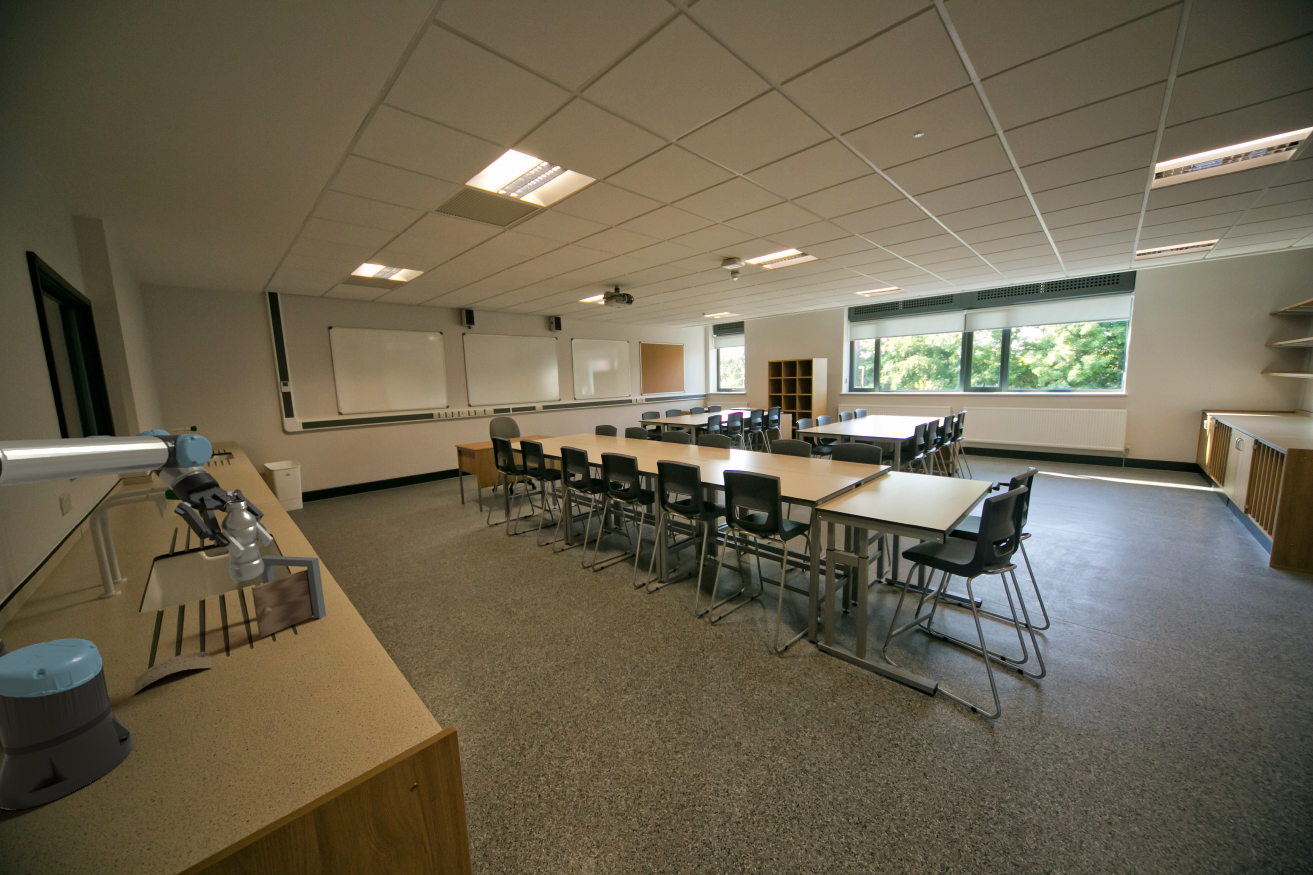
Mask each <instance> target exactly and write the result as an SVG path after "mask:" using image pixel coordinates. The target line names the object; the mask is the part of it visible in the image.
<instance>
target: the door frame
mask: <svg viewBox="0 0 1313 875" xmlns="http://www.w3.org/2000/svg"><path fill="white" fill-rule="evenodd" d="M261 558H262V560H263V563H264V572H263V573H262V575H261V578H262V584H264V583H267V582H270V581H273V580H276V575H275V568H274V566H284V567H301V568H306V570H308V577H309V585H310V592H311V599H312V606H313V613H314V616H313V619H314V618H321V619H322V617H323V616H324V617H326V616H327V612H326V604H325V598H324V590H323V582H322V576H321V569H320V560H319V557H312V556H311V557H310V556H309V557H307V556H287V555H283V556H282V555H264V556H261ZM324 617H323V618H324Z"/></svg>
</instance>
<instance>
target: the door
mask: <svg viewBox="0 0 1313 875" xmlns="http://www.w3.org/2000/svg"><path fill="white" fill-rule="evenodd" d="M251 591H252V592H251V594H252V599H253V606H254V610H255V611H254V612H255V618H256V625H257V629H258V630H257V631H258V636H259V637H260V638H264V637H267V636H269V635H271V634H273V633H277V632H278V631H281V630H283V629H286V628H288V627H291V626H294V625H295V624H297V623H300V622H303V621H305V620H307V619H310V618H312V617H314V613H313V606H312V599H311V592H310V585H309V577H308V570H307V569H305V570H300V571H297V572H294V573H292V574H289V575H285V576H283V577H280V578H277V579H276V578H275V580H273V581H270V582H267V583H264V584H263V583H262V584H257V585H255V586H253V587H251Z"/></svg>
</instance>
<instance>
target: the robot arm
mask: <svg viewBox="0 0 1313 875" xmlns="http://www.w3.org/2000/svg"><path fill="white" fill-rule="evenodd" d="M212 447H213V446H212V444H211V442H210V441H209V440H208V438H206V437H205V436H203V435H201V434H188V433H182V434H170V433H169V432H168V431H167V430H163V429H159V428H155V429H152V430H144V431H142V432H140V433H137V434H136V435H130V436H129V435H127V436H123V435H122V436H115V435H114V436H112V435H91V436H86V437H77V438H76V437H75V438H74V437H73V438H70V437H69V438H47V439H46V438H45V439H42V438H41V439H21V440H20V439H19V440H18V439H15V440H14V439H13V440H0V488H1V487H8V486H9V487H13V486H19V485H27V484H28V485H29V484H37V483H46V482H47V483H48V482H57V481H65V480H67V481H68V480H73V479H83V478H94V477H101V476H102V477H103V476H110V475H111V476H112V475H119V474H120V475H121V474H128V473H129V474H131V473H138V472H148V471H149V472H150V471H151V472H153V473H154V474H155V475H156V476H157V477H158V478H159V479H160V480H161V481H162V482H163V483H164V484H165V485H166V486H167V487H168V489H170V490H171V491H172V492H173V494H174V495H176V497H177V498H178V499H179V500H180V501H181V502H179V503H178V504H177V505H176V506H175V509H174V510H173V513H174V514H176V515H178V516H180V517H181V518H182V519H183V520H184V522H185V523H186V524H187V525H188V526H189V527H190V529H191V530H192V531H193V532H194V533H195V535H196V537H198V538H199V539H200V540H206V539H208V540H209V542H213V541H215V542H216V543H217V544H218V545H219V546H220V547H222V548H226V549H227V550H228V552H229V551H230V552H231V553H232V554H233V555H234V556H235V557H236V558H237V557H239V556H240V555H241V554H242V553H243V551H244V550H245V549H244V548H243V547H242V546H241V545H240V544H239V543H238V542H237V541H236V540H235V539H234V538H233V537H232V535H231V534H230V533H229V532H228V531H226V530H225V531H222V528H221V525H220V524H219V521H218V519H217V516H216V514H215V511H220V512H222V513H226V514H227V513H228V511H226V503H227V502H231V501H236V500H246V505H247V508H246V510H247V511H248V512H250V513H251V514H252V515H253V516H254V517H255V518H256V522H257V523H256V536H257V539H258V540H257V541H259V542H260V543H261V544H262V545H263V546H264V547H268V546H269V545H270V543H272V541H273V540H274V537H272V536H271V535H270V534H269V533H268V532H267V527H266V526H265V525H264V524H263V523H262V522H261V520H262V518H264V516H265V514H264V513H263V511H261V510H260V509H259V508H258V507H257V506H256V505H254V503H252V502H251V501H250V500H249V499H247V498H246V496H244V495H243V492H242V490H241V489H238V488H237V489H234V490H233V491H227V490H225V489H223V488H221V486H220V484H219V482H218V481H217V480H216V478H214V477H213V476H212V475H211V474H210V473H209V472H208V470H207V469H206V468H205V467H204V465H205V464H207V463H208V462H209V461H210V459H211V457H212V455H213V448H212ZM195 510H197V511H198V514H197V512H196V511H195ZM103 662H104V661H103V658H102V656H101V654H100V652H99V649H98V647H97V645H96V644H95V643H94V642H93V641H91V640H87V639H83V638H74V637H73V638H70V637H69V638H60V639H53V640H51V641H48V642H44V641H43V642H42V641H41V642H39V643H34V644H30V645H27V646H23V647H21V648H17V649H16V650H13V651H10V650H9V648H8V647H7V645H6V644H5V643H4V642H3V640H2V639H1V638H0V742H1V746H2V748H3V753H4V757H3V761H2V764H1V768H0V807H3V808H9V809H22V810H26V809H31V808H35V807H39V806H41V805H45V804H47V803H50V802H53V801H55V800H58V799H60V798H64V797H65V795H66V796H68V795H70V794H72V793H74V792H76V791H78V790H80V789H82V788H84V787H86V786H88V785H89V783H90V782H92V781H93V782H95V781H97V780H99V779H100V778H102V777H103V776H105V775H106V774H108V773H110V771H112V770H113V769H115V768H116V767H117V766H119V765H120V764H121V763H123V761H124V760H126V758H127V757H128V756H129V755H130V753H131V752H132V751H133V748H134V742H133V737H132V733H131V730H129V729H128V728H127V727H126V726H125V725H124V724H123V723H122V722H121V721H120V719H119V718H118V717H116V715H114V714H113V712H112V708H111V704H110V698H109V693H108V692H109V691H108V687H107V682H106V676H105V675H106V674H105V670H104V665H103ZM98 778H99V779H98ZM96 779H97V780H96ZM94 780H95V781H94ZM93 782H92V783H93ZM87 784H88V785H87ZM90 784H91V783H90ZM85 785H86V786H85ZM83 786H84V787H83ZM81 787H82V788H81ZM79 788H80V789H79ZM77 789H78V790H77ZM75 790H76V791H75ZM73 791H74V792H73ZM71 792H72V793H71ZM67 794H68V795H67Z"/></svg>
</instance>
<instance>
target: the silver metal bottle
mask: <svg viewBox="0 0 1313 875" xmlns="http://www.w3.org/2000/svg"><path fill="white" fill-rule="evenodd" d="M225 505H226V511H228V513H227V512H226V515H225V516H224V517H223V519H222V520H221V524H220V529H221V532H222V531H225V530H226V531H228V532H229V533H230V534H231V535H232V537H233V538H234V539H235V540H236V541H237V542H238V543H239V544H240V545H241V546H242V547H243V548H244V549H245V550H244V551H243V553H242V554H241V555H240V556H239V557H237V558H236V557H235V556H234V555H233V554H232V553H231V552H230V551H229V550H228V558H229V559H228V560H229V565H228V574H229V577H230V578H231V580H233V581H234V582H245V581H246V582H247V581H250V580H253V579H257V578H259V577H260V576H261V577H262V573H263V572H264V563H263V560H262V558H261V557H262V556H261V553H260V550H259V545H258V540H257V536H256V523H257V522H256V518H255V517H254V516H253V515H252V514H251V513H250V512H248V511H247V510H246V508H247V505H246V500H236V501H231V502H227V503H226V504H225Z"/></svg>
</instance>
